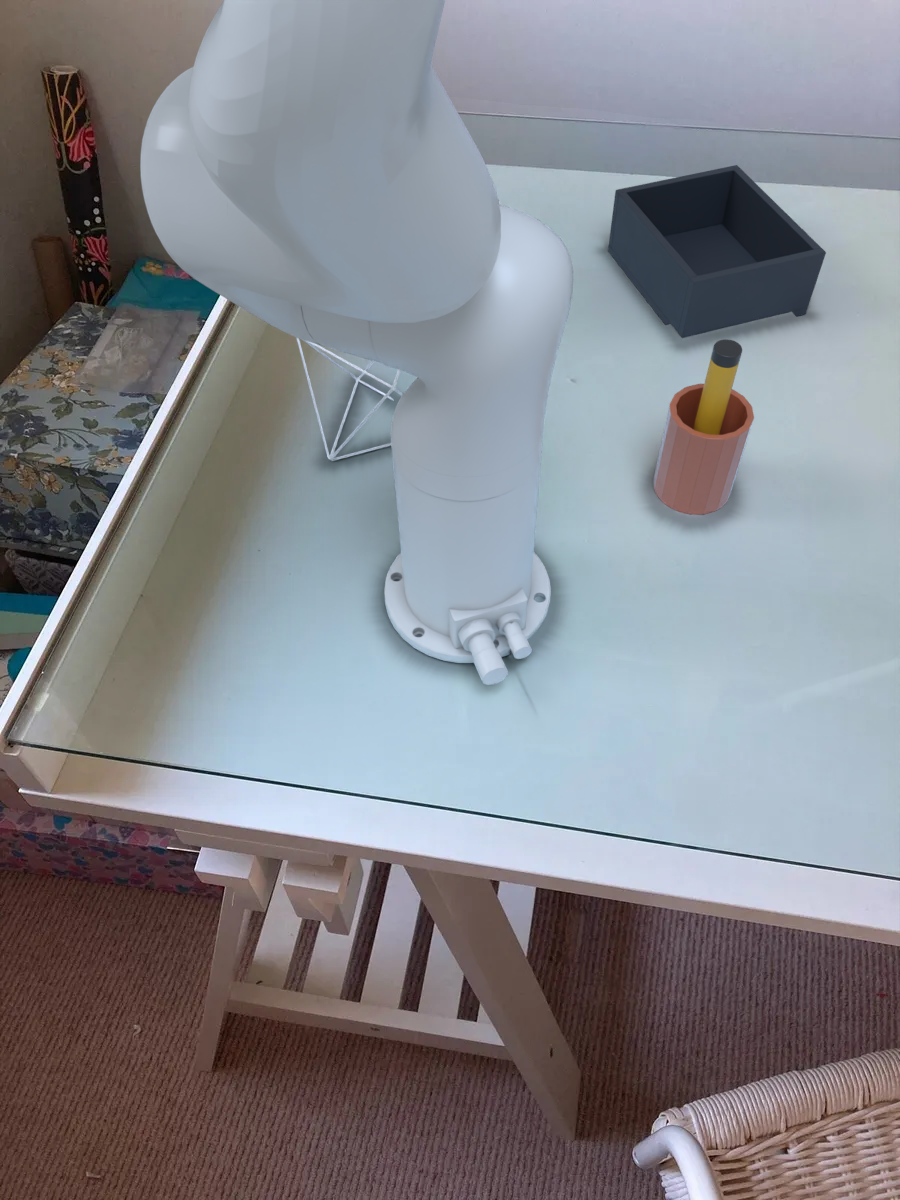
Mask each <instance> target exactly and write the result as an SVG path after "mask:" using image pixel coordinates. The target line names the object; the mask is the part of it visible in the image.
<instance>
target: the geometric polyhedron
mask: <svg viewBox="0 0 900 1200" xmlns="http://www.w3.org/2000/svg"><path fill="white" fill-rule="evenodd" d="M295 338H296V342H297V347H298V350H299V354H300V358H301V362H302V365H303V369H304V373H305V377H306V380H307V384H308V388H309V392H310V396H311V400H312V403H313V407H314V411H315V416H316V418H317V423H318V427H319V430H320V434H321V438H322V442H323V446H324V450H325V453H326V457H327V459H328V461H331V462H334V461H337V460H341V459H346V458H349V457H350V458H351V457H353V456H356V455H357V456H358V455H360V454H365V453H367V452H371V451H375V450H379V449H383V448H387V447H391V442H389V443H385V444H381V445H379V446H374V447H371V448H367V449H362V450H359V451H355V452H351V453H347V454H344V455H340V456H337V455H338V454H339V453H340V451H342V449H343V448H344V447H345V446H346V445H347V443H349V441H350V440H351V439H352V438H353V437H354V435H356V433H357V432H358V431H359V430H360V429H361V427H363V425H364V424H365V423H366V422H367V421H368V420H369V419H370V417H372V415H373V414H374V413H375V412H376V411H377V410H378V408H379V407H381V405H382V404H383V403H384V402H385V401H386V400H387V399H389V400H391V401H392V402H395V401H394V398H393V397H391V396H390V395H391V394H392V393H393V392H395V393H397V394H398V395H399V396H400V397H402V395H403V394H404V392H402V391H401V390H399V389H398V388H397V382H398V380H399V377H400V374H401V371H402V370H399V369H396V373H395V377H394V380H393V383H392V385H391V384H390V383H389V382H386V381H385V380H382V379H381V378H379V377H377V376H375V375H374V374H372V373H370V372H368V371H369V369H370V368H371V367H372V365H373V364H374V363H375V361H372V360H370V363H368V365H367V366H366V368H365V369H362V368H361V367H360V366H358V365H355V364H354V363H352V362H350V361H349V360H346V359H345V358H343V357H341V356H340V355H337V354H336V353H334V352H332V351H330V350H328V349H326V347H324V346H321V345H318V344H315V343H312V342H309V341H306V340H302V339H300V338H297V337H295ZM301 341H302V342H304V343H305V344H307V345H308V346H310V348H312V349H314V350H315V351H316V352H318V353H319V354H320V355H322V356H323V357H324V358H325V359H327V360H328V361H329V362H331V363H333V365H335V366H336V367H337V368H339V369H340V370H342V371H343V372H344V373H346V374H347V375H348V376H350V377H352V378H353V379H354V380H355V383H354V386H353V389H352V392H351V394H350V397H349V400H348V403H347V405H346V409H345V411H344V413H343V417H342V420H341V423H340V425H339V428H338V431H337V434H336V436H335V439H334V443H333V445H332V448H331V451H330V452H329V448H328V445H327V441H326V440H327V439H326V437H325V432H324V429H323V426H322V425H323V424H322V421H321V418H320V413H319V409H318V406H317V403H316V402H317V401H316V398H315V394H314V391H313V387H312V383H311V378H310V376H309V375H310V374H309V372H308V366H307V363H306V360H305V356H304V353H303V348H302V345H301ZM324 352H325V353H324ZM326 353H327V354H328V355H327V354H326ZM329 355H330V356H332V357H334V358H336V359H338V360H339V361H341V362H343V363H345V364H347V365H348V366H350V367H352V368H353V369H356V370H357V371H359V372H361V374H360V375H359V376H356V375H354V374H353V373H351V372H350V371H348V369H346V368H345V367H343V366H342V365H340V364H339V363H338V362H337V361H335V360H334V359H333V358H331V357H330V356H329ZM364 375H366V376H368V377H370V378H372V379H373V380H375V381H377V382H378V383H381V384H383V385H384V386H386V387H388V388H389V390H388V391H387V392H386V393H385V392H383V391H381V390H379V389H377V388H375V387H374V386H372V385H370V384H369V383H367V382H365V381H363V380H361V379H362V378H363V376H364ZM359 383H361V384H362V385H363V386H366V387H367V388H369V389H371V390H373V391H374V392H376V393H378V394H380V395H381V396H383V397H382V398H381V399H380V400H379V401H378V402H377V404H376V405H375V406H374V407H373V408H372V409H371V411H369V413H368V414H367V415H366V416H365V417H364V419H362V421H361V422H360V423H359V424H358V425H357V426H356V427H355V429H354V430H352V432H351V433H350V434H349V435H348V437H347V438H346V439H345V440H344V441H343V442H342V443H341V445H340V446H339V447H338V448H337V449H336V447H337V445H338V441H339V439H340V436H341V434H342V430H343V427H344V425H345V422H346V419H347V416H348V413H349V411H350V407H351V404H352V403H353V399H354V396H355V393H356V390H357V387H358V384H359Z"/></svg>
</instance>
